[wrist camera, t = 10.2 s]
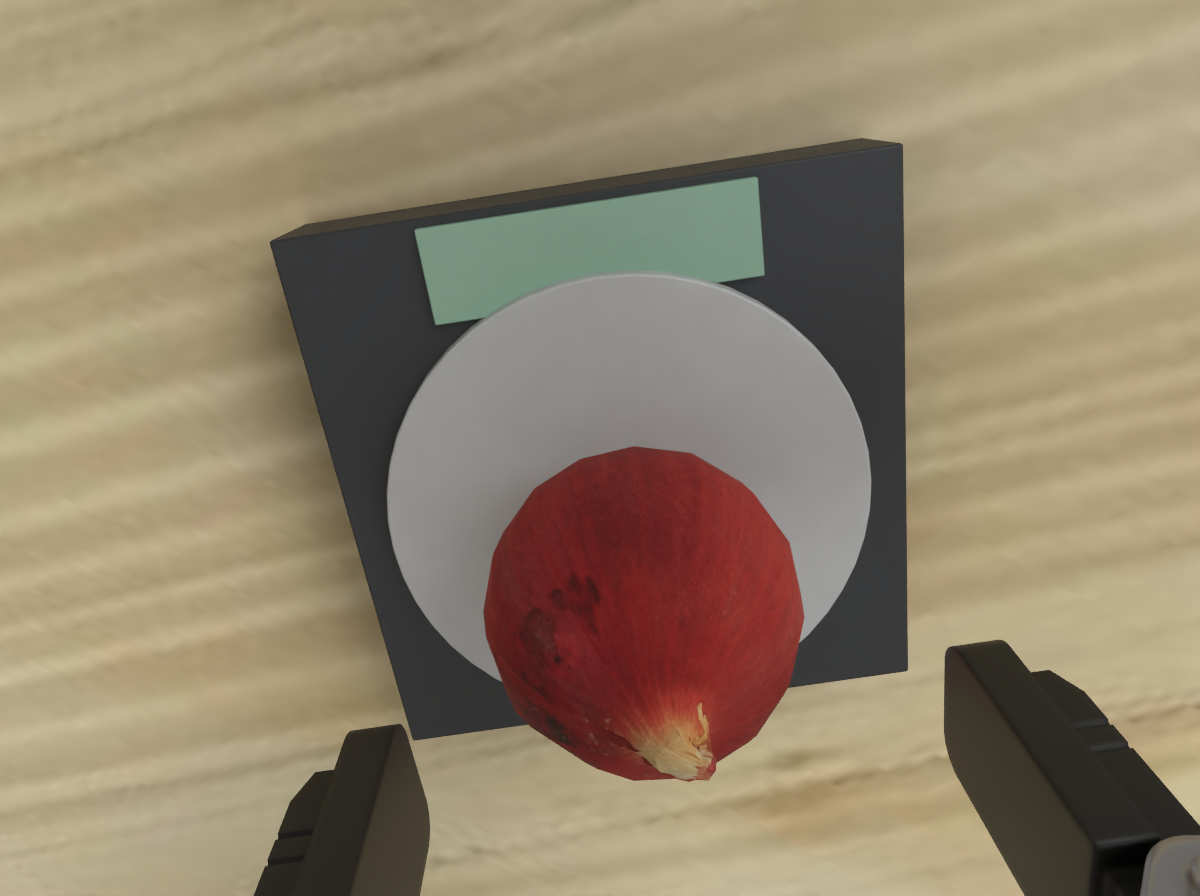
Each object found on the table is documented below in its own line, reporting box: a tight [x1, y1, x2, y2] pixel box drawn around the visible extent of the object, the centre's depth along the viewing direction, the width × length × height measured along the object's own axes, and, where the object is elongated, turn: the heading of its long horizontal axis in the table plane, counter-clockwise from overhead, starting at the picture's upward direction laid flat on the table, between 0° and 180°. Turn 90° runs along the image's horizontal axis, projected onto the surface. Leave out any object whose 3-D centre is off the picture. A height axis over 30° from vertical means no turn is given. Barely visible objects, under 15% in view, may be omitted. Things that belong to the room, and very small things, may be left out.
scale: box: [270, 138, 908, 740], centre depth 21 cm, size 13×13×3 cm
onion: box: [483, 446, 804, 782], centre depth 16 cm, size 6×6×8 cm
